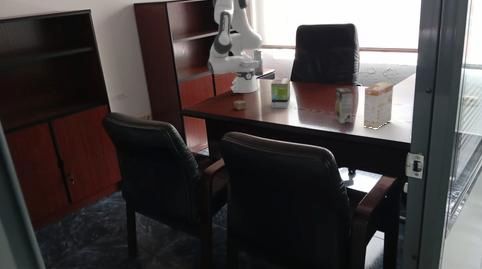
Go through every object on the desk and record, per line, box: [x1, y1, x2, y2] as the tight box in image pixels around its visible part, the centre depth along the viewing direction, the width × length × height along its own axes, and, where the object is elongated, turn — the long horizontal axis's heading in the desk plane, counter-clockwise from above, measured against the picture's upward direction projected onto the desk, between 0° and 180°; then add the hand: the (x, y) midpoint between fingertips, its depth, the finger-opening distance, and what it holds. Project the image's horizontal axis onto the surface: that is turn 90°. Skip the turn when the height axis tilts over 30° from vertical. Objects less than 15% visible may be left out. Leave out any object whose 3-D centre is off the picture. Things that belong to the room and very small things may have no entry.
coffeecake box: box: [363, 81, 394, 129], centre depth 194 cm, size 15×7×20 cm, turn 133°
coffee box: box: [334, 87, 354, 124], centre depth 204 cm, size 9×6×16 cm
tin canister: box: [252, 49, 264, 77], centre depth 228 cm, size 5×5×14 cm
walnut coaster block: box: [233, 100, 247, 111], centre depth 239 cm, size 5×5×4 cm
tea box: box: [270, 77, 291, 109], centre depth 239 cm, size 15×10×15 cm, turn 168°
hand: (259, 60), depth 228 cm, fingers closed on tin canister, 5 cm apart
